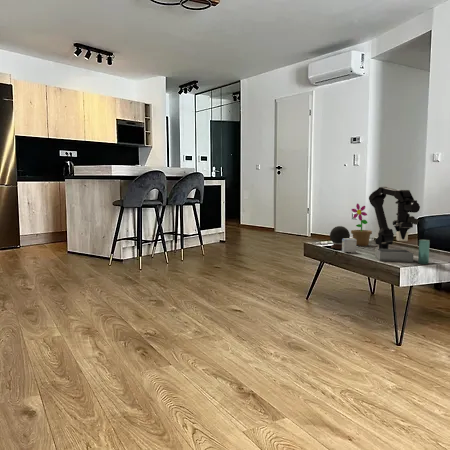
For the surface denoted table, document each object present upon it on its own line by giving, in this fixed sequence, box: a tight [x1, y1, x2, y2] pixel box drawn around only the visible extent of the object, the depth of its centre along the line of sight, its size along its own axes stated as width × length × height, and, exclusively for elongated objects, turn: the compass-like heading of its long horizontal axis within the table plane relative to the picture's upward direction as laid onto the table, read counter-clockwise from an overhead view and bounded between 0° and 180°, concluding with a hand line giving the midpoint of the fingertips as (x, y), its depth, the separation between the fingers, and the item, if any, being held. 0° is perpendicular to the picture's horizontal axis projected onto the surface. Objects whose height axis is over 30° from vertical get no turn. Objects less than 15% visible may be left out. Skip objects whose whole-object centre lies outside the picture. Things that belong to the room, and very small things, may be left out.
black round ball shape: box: [329, 225, 351, 250], centre depth 285 cm, size 13×13×15 cm
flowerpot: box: [350, 203, 373, 247], centre depth 301 cm, size 14×14×30 cm
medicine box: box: [341, 237, 357, 254], centre depth 266 cm, size 8×4×9 cm, turn 92°
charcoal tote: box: [374, 248, 414, 263], centre depth 239 cm, size 14×18×5 cm
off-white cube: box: [395, 230, 409, 242], centre depth 242 cm, size 5×5×5 cm
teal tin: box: [417, 239, 431, 265], centre depth 227 cm, size 5×5×12 cm
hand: (401, 238), depth 242 cm, fingers closed on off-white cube, 5 cm apart
